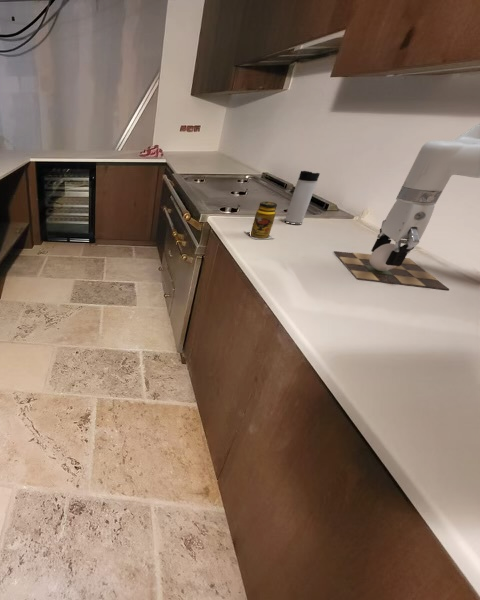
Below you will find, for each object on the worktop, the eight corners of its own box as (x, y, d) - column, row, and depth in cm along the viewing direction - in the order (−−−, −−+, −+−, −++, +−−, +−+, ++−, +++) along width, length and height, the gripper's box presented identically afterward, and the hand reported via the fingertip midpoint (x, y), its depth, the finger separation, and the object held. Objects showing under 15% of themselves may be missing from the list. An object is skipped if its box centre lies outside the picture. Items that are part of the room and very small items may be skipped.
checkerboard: (408, 259, 99) (409, 258, 98) (448, 290, 83) (449, 288, 82) (333, 252, 104) (334, 250, 104) (356, 279, 88) (357, 277, 88)
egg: (367, 272, 91) (380, 245, 87) (362, 263, 95) (375, 238, 91) (396, 276, 88) (411, 250, 84) (390, 267, 93) (404, 242, 89)
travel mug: (280, 221, 131) (297, 170, 121) (290, 219, 134) (307, 168, 123) (295, 226, 126) (313, 172, 116) (305, 223, 129) (324, 170, 119)
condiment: (253, 239, 115) (263, 205, 108) (243, 231, 122) (252, 199, 116) (274, 239, 114) (285, 205, 108) (262, 231, 122) (272, 199, 115)
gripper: (458, 205, 73) (417, 273, 82) (418, 189, 87) (386, 248, 96) (418, 203, 75) (382, 269, 84) (384, 187, 89) (357, 245, 98)
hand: (384, 258), depth 90 cm, fingers open, 8 cm apart
